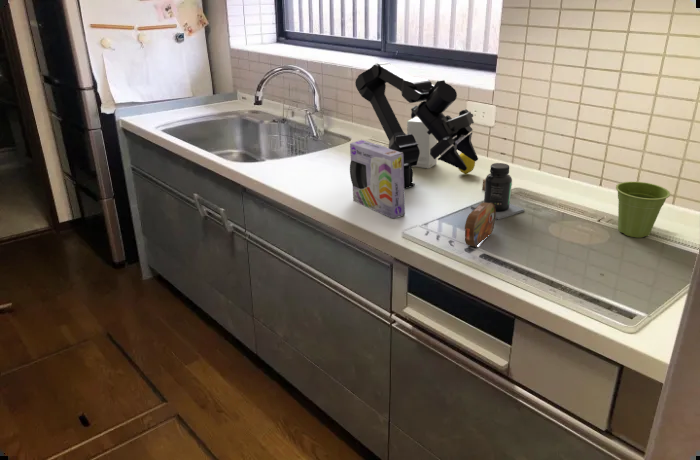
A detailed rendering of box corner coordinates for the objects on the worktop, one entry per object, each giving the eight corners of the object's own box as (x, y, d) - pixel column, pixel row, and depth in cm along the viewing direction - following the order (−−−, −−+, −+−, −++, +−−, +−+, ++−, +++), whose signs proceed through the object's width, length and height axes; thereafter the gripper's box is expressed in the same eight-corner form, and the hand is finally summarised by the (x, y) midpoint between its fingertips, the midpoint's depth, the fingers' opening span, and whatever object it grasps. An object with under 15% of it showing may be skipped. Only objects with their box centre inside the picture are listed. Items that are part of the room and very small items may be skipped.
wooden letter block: (496, 194, 171) (497, 183, 169) (482, 190, 174) (483, 179, 173) (506, 190, 174) (507, 179, 172) (492, 186, 177) (493, 175, 176)
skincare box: (437, 164, 198) (439, 118, 191) (428, 169, 193) (430, 122, 186) (414, 160, 202) (415, 115, 195) (405, 165, 197) (406, 120, 190)
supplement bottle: (514, 208, 159) (519, 166, 154) (496, 214, 155) (500, 171, 150) (496, 201, 164) (500, 160, 159) (478, 206, 161) (481, 164, 156)
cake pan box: (349, 200, 169) (347, 140, 161) (363, 196, 171) (362, 137, 164) (391, 220, 154) (392, 156, 147) (405, 216, 157) (407, 152, 150)
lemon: (474, 177, 184) (475, 153, 181) (456, 176, 185) (457, 152, 182) (474, 172, 189) (476, 148, 186) (456, 171, 190) (458, 147, 187)
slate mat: (497, 219, 154) (497, 217, 153) (470, 208, 161) (471, 206, 161) (524, 211, 158) (524, 209, 158) (496, 200, 166) (497, 198, 166)
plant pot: (620, 243, 139) (628, 199, 135) (600, 223, 150) (607, 181, 146) (670, 242, 139) (680, 198, 135) (647, 222, 150) (655, 180, 146)
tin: (473, 252, 136) (476, 219, 133) (461, 250, 138) (463, 217, 134) (495, 230, 148) (498, 198, 144) (483, 227, 149) (486, 196, 146)
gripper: (443, 108, 147) (482, 156, 146) (467, 95, 162) (503, 138, 161) (413, 135, 154) (451, 181, 153) (439, 120, 168) (474, 162, 168)
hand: (471, 164), depth 159 cm, fingers open, 9 cm apart
